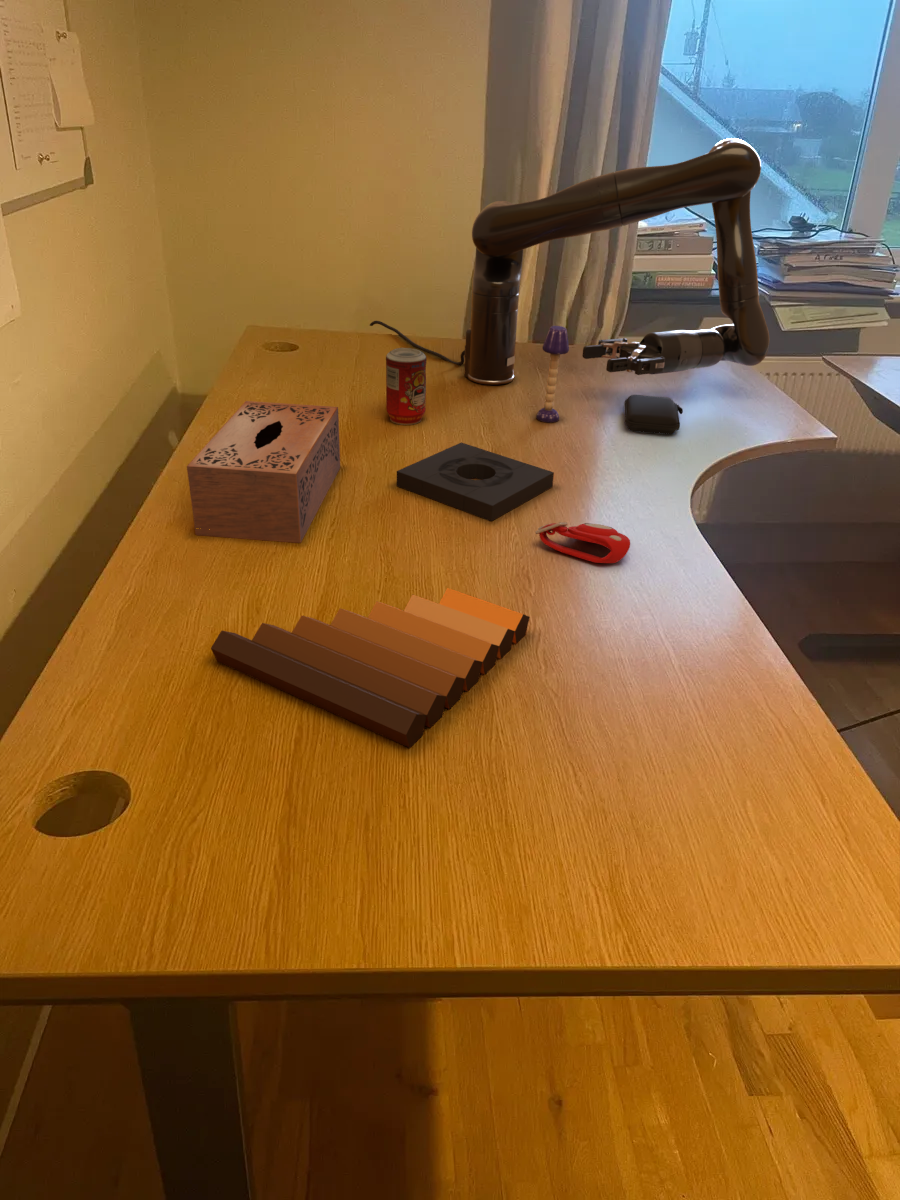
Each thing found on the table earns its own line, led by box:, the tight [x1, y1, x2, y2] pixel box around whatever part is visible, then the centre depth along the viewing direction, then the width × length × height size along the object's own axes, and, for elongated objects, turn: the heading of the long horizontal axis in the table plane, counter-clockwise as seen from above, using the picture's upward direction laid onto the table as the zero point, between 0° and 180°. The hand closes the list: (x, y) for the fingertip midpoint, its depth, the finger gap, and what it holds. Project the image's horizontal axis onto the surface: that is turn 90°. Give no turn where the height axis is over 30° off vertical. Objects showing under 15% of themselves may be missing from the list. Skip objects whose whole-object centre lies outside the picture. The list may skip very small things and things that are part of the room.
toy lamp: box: [535, 325, 570, 424], centre depth 159 cm, size 5×5×17 cm
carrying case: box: [623, 394, 684, 436], centre depth 163 cm, size 11×3×15 cm
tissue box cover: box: [186, 400, 341, 544], centre depth 128 cm, size 26×14×10 cm, turn 174°
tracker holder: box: [535, 521, 631, 564], centre depth 119 cm, size 12×4×10 cm
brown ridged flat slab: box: [210, 587, 531, 749], centre depth 98 cm, size 25×3×25 cm
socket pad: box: [396, 441, 555, 522], centre depth 136 cm, size 18×16×2 cm
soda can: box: [385, 347, 427, 426], centre depth 157 cm, size 7×7×12 cm
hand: (595, 359), depth 160 cm, fingers open, 8 cm apart
